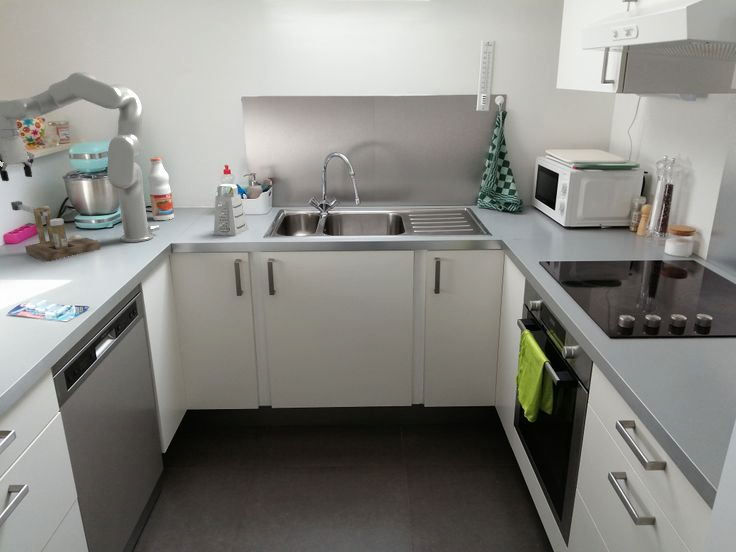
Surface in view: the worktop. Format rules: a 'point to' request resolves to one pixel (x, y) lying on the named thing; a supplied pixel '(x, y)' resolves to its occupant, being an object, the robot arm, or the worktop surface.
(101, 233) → the worktop surface
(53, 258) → the brown wooden frame
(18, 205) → the bolt
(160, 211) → the fruit juice
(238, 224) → the grater
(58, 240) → the sprinkles bottle
